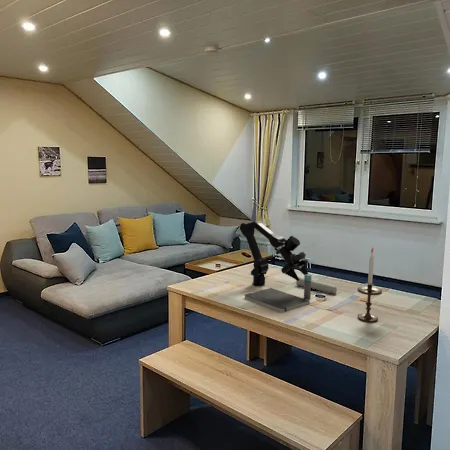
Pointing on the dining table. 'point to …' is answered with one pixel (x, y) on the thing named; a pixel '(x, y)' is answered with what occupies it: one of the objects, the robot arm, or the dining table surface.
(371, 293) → the candlestick
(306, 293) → the ball
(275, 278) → the dining table surface
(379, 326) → the dining table surface
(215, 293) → the dining table surface
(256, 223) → the robot arm
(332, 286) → the tube
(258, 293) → the notebook
